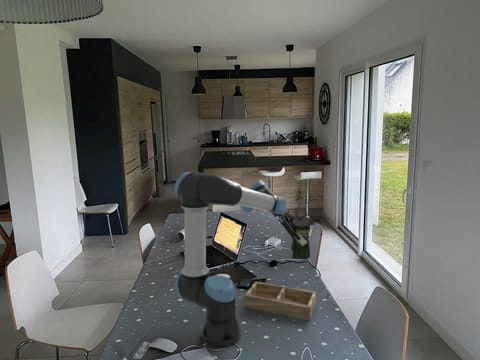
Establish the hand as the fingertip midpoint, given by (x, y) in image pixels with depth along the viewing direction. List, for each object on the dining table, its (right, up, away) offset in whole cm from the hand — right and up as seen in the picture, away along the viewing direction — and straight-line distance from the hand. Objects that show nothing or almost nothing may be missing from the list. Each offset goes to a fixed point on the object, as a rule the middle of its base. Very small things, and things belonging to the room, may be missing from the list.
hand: (306, 241), depth 176 cm
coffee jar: (-3, -9, +3) cm, 10 cm away
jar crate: (-14, -28, -11) cm, 33 cm away
